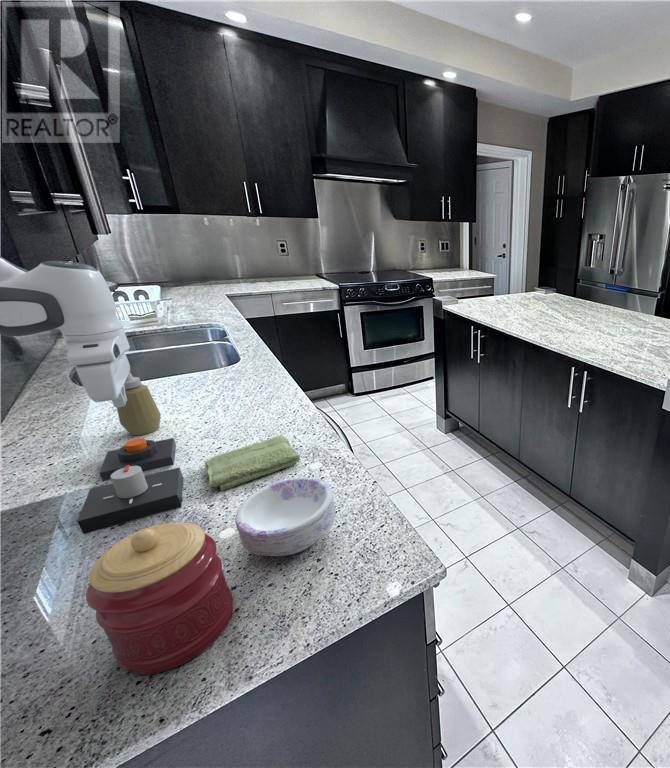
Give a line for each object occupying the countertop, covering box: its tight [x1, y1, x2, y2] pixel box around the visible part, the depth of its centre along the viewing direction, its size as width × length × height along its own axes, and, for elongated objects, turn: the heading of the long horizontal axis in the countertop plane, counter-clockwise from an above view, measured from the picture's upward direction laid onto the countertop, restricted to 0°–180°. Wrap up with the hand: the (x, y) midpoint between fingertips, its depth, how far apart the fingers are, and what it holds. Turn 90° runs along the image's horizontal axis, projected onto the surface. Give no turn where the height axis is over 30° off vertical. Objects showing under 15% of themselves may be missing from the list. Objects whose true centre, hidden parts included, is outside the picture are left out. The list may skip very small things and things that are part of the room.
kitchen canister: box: [85, 522, 234, 675], centre depth 54 cm, size 13×13×18 cm
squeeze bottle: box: [116, 371, 162, 436], centre depth 103 cm, size 8×8×18 cm
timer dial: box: [110, 465, 148, 498], centre depth 78 cm, size 4×4×5 cm
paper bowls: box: [234, 476, 337, 557], centre depth 72 cm, size 15×15×8 cm
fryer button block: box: [99, 437, 177, 482], centre depth 93 cm, size 12×10×4 cm
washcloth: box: [204, 435, 301, 491], centre depth 93 cm, size 13×18×3 cm
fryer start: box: [123, 437, 147, 452], centre depth 92 cm, size 4×4×2 cm
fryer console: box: [76, 467, 184, 535], centre depth 80 cm, size 14×11×3 cm
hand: (121, 404), depth 88 cm, fingers closed
